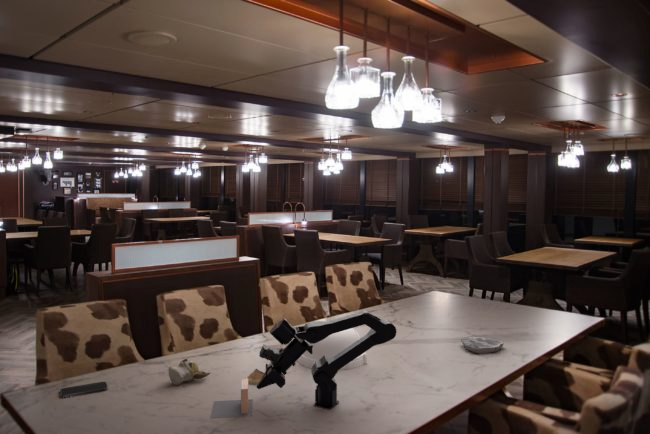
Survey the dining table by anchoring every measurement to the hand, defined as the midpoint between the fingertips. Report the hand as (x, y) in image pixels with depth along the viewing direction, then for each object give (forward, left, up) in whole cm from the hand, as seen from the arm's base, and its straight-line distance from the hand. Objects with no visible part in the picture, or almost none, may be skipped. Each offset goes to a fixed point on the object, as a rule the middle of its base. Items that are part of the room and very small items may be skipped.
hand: (257, 387), depth 165 cm
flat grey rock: (-49, -103, -7) cm, 114 cm away
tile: (+3, +2, -6) cm, 8 cm away
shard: (+16, -20, -7) cm, 26 cm away
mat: (+6, +5, -7) cm, 11 cm away
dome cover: (+3, -56, -7) cm, 57 cm away
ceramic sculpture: (+38, -6, -7) cm, 39 cm away
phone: (+63, +19, -7) cm, 66 cm away
